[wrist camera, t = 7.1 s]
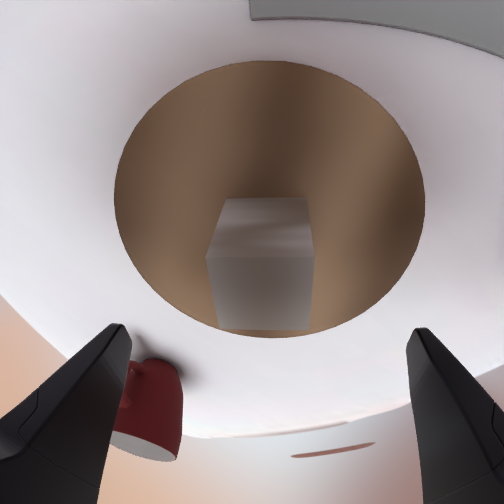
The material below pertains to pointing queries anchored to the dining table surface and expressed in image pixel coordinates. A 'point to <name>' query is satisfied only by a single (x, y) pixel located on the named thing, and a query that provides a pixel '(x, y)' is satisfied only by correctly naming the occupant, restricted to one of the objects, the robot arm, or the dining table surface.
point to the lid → (269, 199)
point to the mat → (403, 17)
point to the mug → (150, 411)
